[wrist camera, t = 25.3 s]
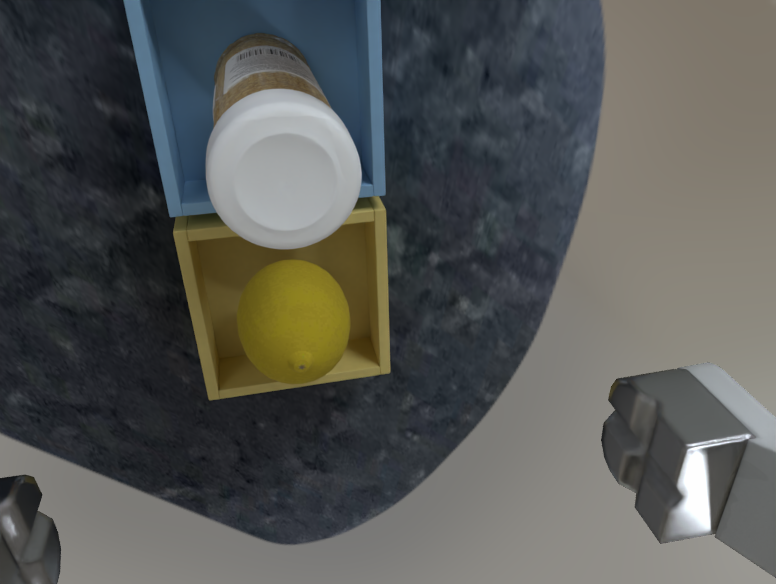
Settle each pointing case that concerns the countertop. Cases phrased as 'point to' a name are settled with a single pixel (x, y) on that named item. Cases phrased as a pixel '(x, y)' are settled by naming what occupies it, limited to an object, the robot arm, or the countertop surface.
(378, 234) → the yellow bin
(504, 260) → the countertop surface
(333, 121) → the sprinkles bottle
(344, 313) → the lemon
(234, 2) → the blue bin
